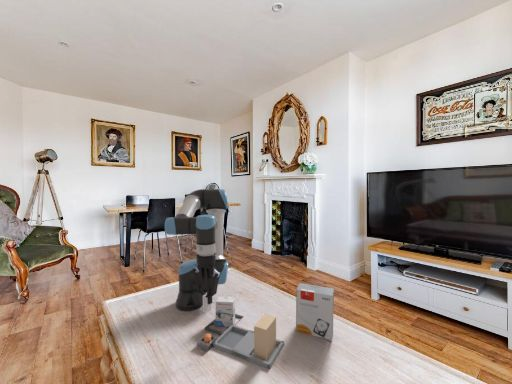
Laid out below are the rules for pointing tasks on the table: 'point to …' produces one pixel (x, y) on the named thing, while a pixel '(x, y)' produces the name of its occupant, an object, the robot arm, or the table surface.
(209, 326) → the frame
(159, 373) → the table surface
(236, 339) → the grey rectangular tray
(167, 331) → the table surface
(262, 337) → the billet
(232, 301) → the ink box
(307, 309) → the hard drive box
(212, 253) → the robot arm
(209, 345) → the housing
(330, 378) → the table surface
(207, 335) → the brown egg
